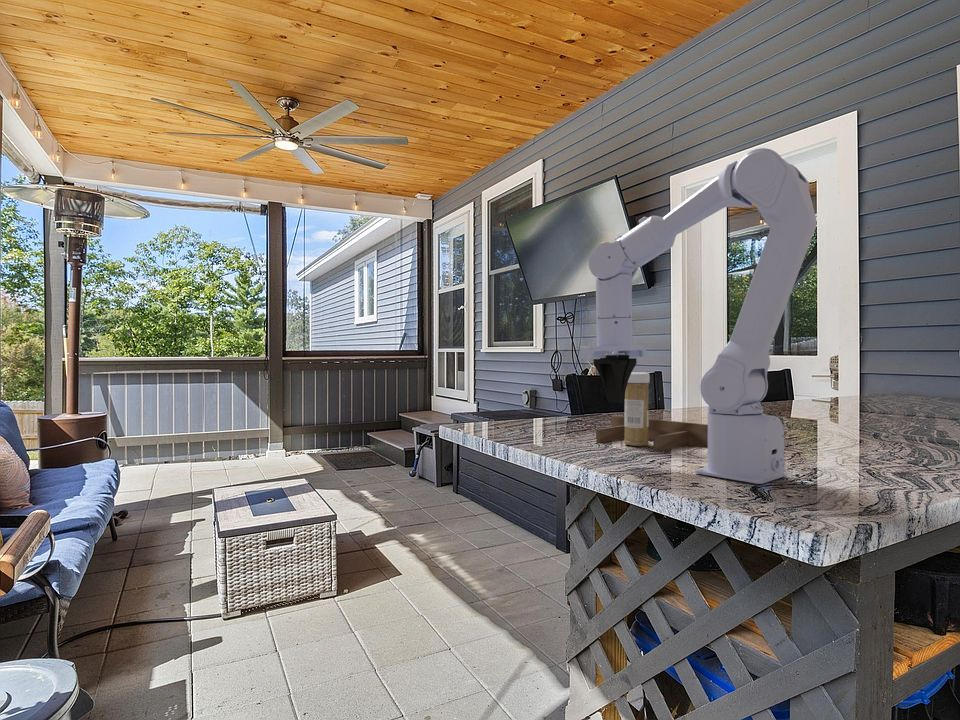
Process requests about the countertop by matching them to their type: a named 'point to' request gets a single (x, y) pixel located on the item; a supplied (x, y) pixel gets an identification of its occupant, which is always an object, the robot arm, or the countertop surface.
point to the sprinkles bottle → (637, 409)
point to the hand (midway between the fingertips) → (615, 402)
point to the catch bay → (660, 433)
